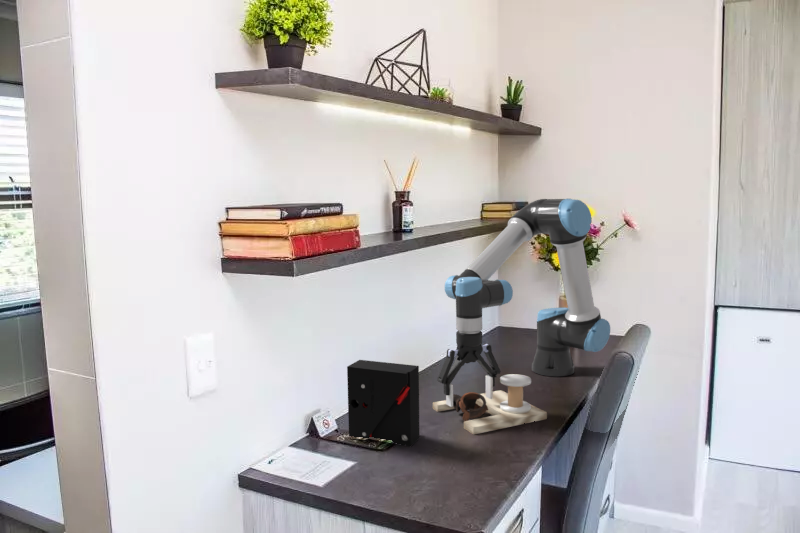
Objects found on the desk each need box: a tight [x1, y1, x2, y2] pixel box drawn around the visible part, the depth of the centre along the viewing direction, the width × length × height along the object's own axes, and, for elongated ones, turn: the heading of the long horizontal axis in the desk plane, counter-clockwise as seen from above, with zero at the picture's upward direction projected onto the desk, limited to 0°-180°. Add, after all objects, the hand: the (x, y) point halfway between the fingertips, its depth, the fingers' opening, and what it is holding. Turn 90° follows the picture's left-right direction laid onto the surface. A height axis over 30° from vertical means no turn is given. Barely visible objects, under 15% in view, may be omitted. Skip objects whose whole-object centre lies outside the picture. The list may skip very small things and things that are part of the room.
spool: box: [499, 373, 532, 414], centre depth 185 cm, size 9×9×9 cm
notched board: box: [432, 389, 548, 435], centre depth 187 cm, size 25×23×2 cm
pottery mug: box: [453, 391, 488, 422], centre depth 185 cm, size 12×10×8 cm
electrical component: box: [346, 359, 420, 447], centre depth 169 cm, size 18×10×20 cm, turn 66°
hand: (469, 401), depth 185 cm, fingers open, 13 cm apart
